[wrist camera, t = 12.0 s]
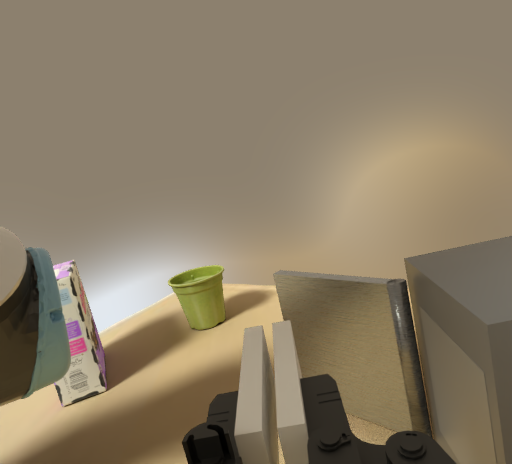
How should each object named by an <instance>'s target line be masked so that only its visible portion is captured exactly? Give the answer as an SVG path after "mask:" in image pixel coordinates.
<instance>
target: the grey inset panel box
mask: <svg viewBox="0 0 512 464" xmlns="http://www.w3.org/2000/svg"><path fill="white" fill-rule="evenodd" d="M404 261H405V267H406V273H407V279H408V285H409V291H410V297H411V303H412V309H413V315H414V321H415V327H416V333H417V339H418V345H419V351H420V357H421V363H422V369H423V375H424V381H425V387H426V393H427V399H428V405H429V411H430V417H431V423H432V429H433V434H434V440H435V441H436V442H437V443H438V444H439V445H440V446H441V447H442V448H443V450H444V451H445V452H446V453H447V454H448V455H449V456H450V457H451V458H452V459H453V460H454V461H455V462H456V464H512V236H509V237H505V238H500V239H495V240H490V241H486V242H481V243H476V244H472V245H466V246H462V247H457V248H453V249H448V250H443V251H438V252H433V253H428V254H424V255H419V256H414V257H409V258H405V259H404Z"/></svg>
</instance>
